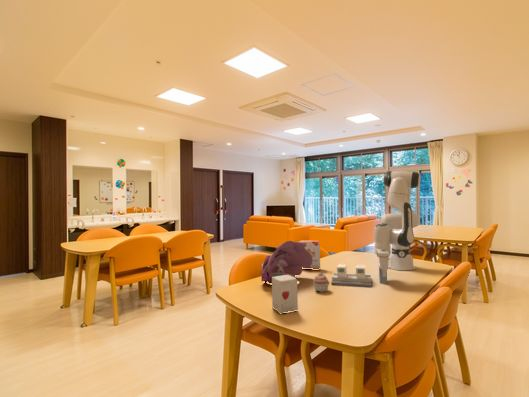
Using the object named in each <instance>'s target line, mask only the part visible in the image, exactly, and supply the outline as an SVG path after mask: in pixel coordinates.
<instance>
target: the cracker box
mask: <svg viewBox="0 0 529 397" xmlns="http://www.w3.org/2000/svg"><path fill="white" fill-rule="evenodd" d="M298 242H299V243H301V244H303V245H304V247H305V250H307V251H308V252H309V253H310V254H311V256H312V264H311V266H309V267H306V268H313V269H319V268H320V269H321V253H320V252H321V251H320V240H303V239H302V240H299V241H298Z"/></svg>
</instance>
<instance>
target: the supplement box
mask: <svg viewBox="0 0 529 397" xmlns="http://www.w3.org/2000/svg"><path fill="white" fill-rule="evenodd" d="M296 278H297V277H296ZM296 278H294V277H292V276H290V275H282V276H275V277H272V286H271V292H272V293H271V295H272V296H271V298H272V300H271V302H272V305H271V306H272V308H273V307H274V308H275V309H277V310H278V311H279V312H280V313H283V312H288V311H294V310H298V311H299V308H298V306H299V304H298V301H299V300H298V285H297V281H298V278H297V279H296Z"/></svg>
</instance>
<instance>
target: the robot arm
mask: <svg viewBox="0 0 529 397" xmlns="http://www.w3.org/2000/svg"><path fill="white" fill-rule="evenodd" d="M421 181H422V180H421V176H420V173H419V172H416V171H406V170H402V171H401V170H396V171H395V170H393V171H392V170H389V171H386V172H385V173H384V175H383V177H382V182H383V185H384V186H385V187H387V188H389V189H388V191H387V192H388V193H387V204H388V205H389V206H390V208H392V209H394V210H396V211H398V213H397V212H396V213H395V212H393V213H387V214H386V213H385V214H382V216H381V217H380V220H379V221H380V222H379V223H378V224H376V225H375V226H374V230H373V239H374V254H375V255H376V257H377V258H378V263H379V266H380V267H381V270H382V275H383V277H386V270H387V271H388V270H389V269H390V270H391V269H392V270H396V271H413V270H417V266H415V265H414V257H413V256H412V255H411V248H410V246H411V245H412V244H413V243H414V241H415V235H414V231H413V229H414V228H417V227H418V225H419V224H420V218H419V216H418V214H416V213H415V212H414V211H413V210H412V206H411V189H416V188H417V187H419V185H420V183H421Z"/></svg>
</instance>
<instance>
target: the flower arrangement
mask: <svg viewBox="0 0 529 397" xmlns="http://www.w3.org/2000/svg"><path fill="white" fill-rule="evenodd" d="M311 264H312V256H311V254H310V253H309V252H308V251H307V250H305V247H304V245H303V244H301V243H299V241H293V240H287V241H285V242H283V243H281V244H280V245H278V246H276V248H275V250H274V251H273V253H272V254H269V255H267V256H266V257H265V259H264V262H263V263H262V264H260V265H261V268H260V269H261V282H262V281H265V283H266V282H267V281H268V282H269V283H272V277H275V276H282V275H290V276H292V277H294V278H297V277H295V275H299V276H300V275H302V272H303V270H302V267H303V268H306V267H309V266H311ZM265 283H264V284H265Z"/></svg>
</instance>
